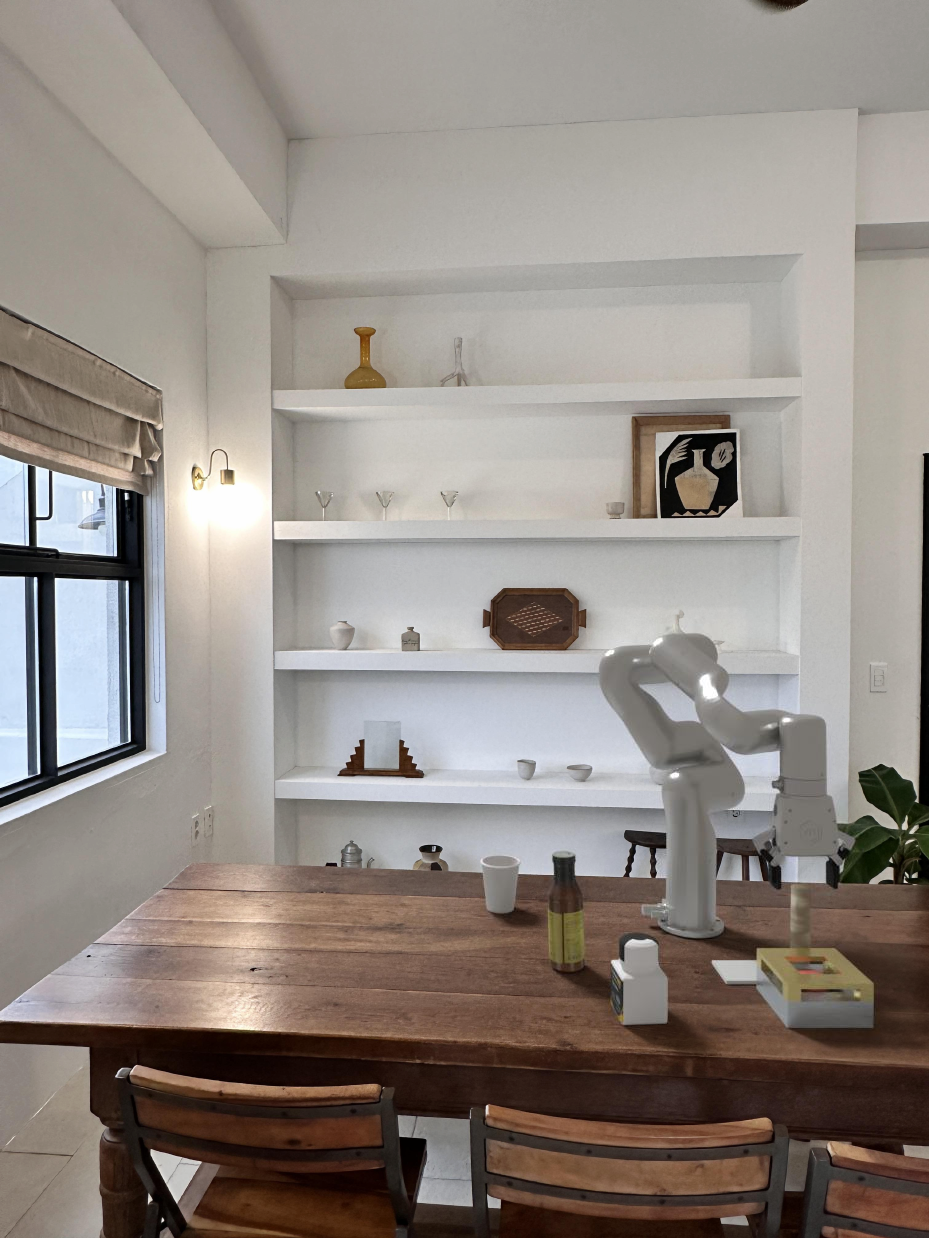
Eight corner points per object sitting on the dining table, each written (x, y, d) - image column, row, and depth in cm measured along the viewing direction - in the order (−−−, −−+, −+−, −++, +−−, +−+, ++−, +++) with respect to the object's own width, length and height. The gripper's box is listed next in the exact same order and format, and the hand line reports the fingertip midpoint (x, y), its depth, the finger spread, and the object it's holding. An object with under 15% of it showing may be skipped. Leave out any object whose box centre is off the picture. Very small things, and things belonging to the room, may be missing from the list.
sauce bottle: (587, 961, 150) (588, 850, 149) (580, 976, 144) (581, 860, 143) (551, 956, 152) (552, 846, 151) (543, 970, 146) (544, 856, 146)
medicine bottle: (609, 1003, 134) (610, 928, 134) (653, 1001, 135) (654, 927, 135) (621, 1026, 127) (622, 947, 127) (668, 1024, 128) (668, 945, 127)
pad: (726, 984, 141) (726, 980, 141) (711, 963, 149) (711, 960, 149) (773, 983, 141) (773, 980, 141) (756, 963, 149) (756, 960, 149)
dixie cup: (527, 906, 177) (527, 858, 177) (507, 918, 170) (508, 869, 170) (493, 898, 181) (493, 852, 181) (472, 910, 174) (472, 862, 174)
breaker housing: (787, 1027, 127) (787, 983, 127) (756, 988, 140) (756, 948, 140) (873, 1027, 127) (873, 983, 127) (834, 988, 140) (834, 948, 140)
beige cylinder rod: (794, 977, 144) (795, 890, 143) (786, 969, 147) (787, 884, 147) (812, 977, 144) (814, 890, 143) (805, 969, 147) (806, 884, 147)
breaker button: (803, 998, 131) (803, 982, 131) (790, 983, 136) (790, 968, 136) (835, 998, 131) (835, 982, 131) (821, 983, 136) (821, 968, 136)
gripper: (760, 792, 141) (761, 894, 141) (863, 791, 141) (864, 893, 141) (745, 783, 148) (746, 880, 148) (843, 782, 148) (843, 879, 148)
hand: (803, 886), depth 144 cm, fingers open, 9 cm apart
